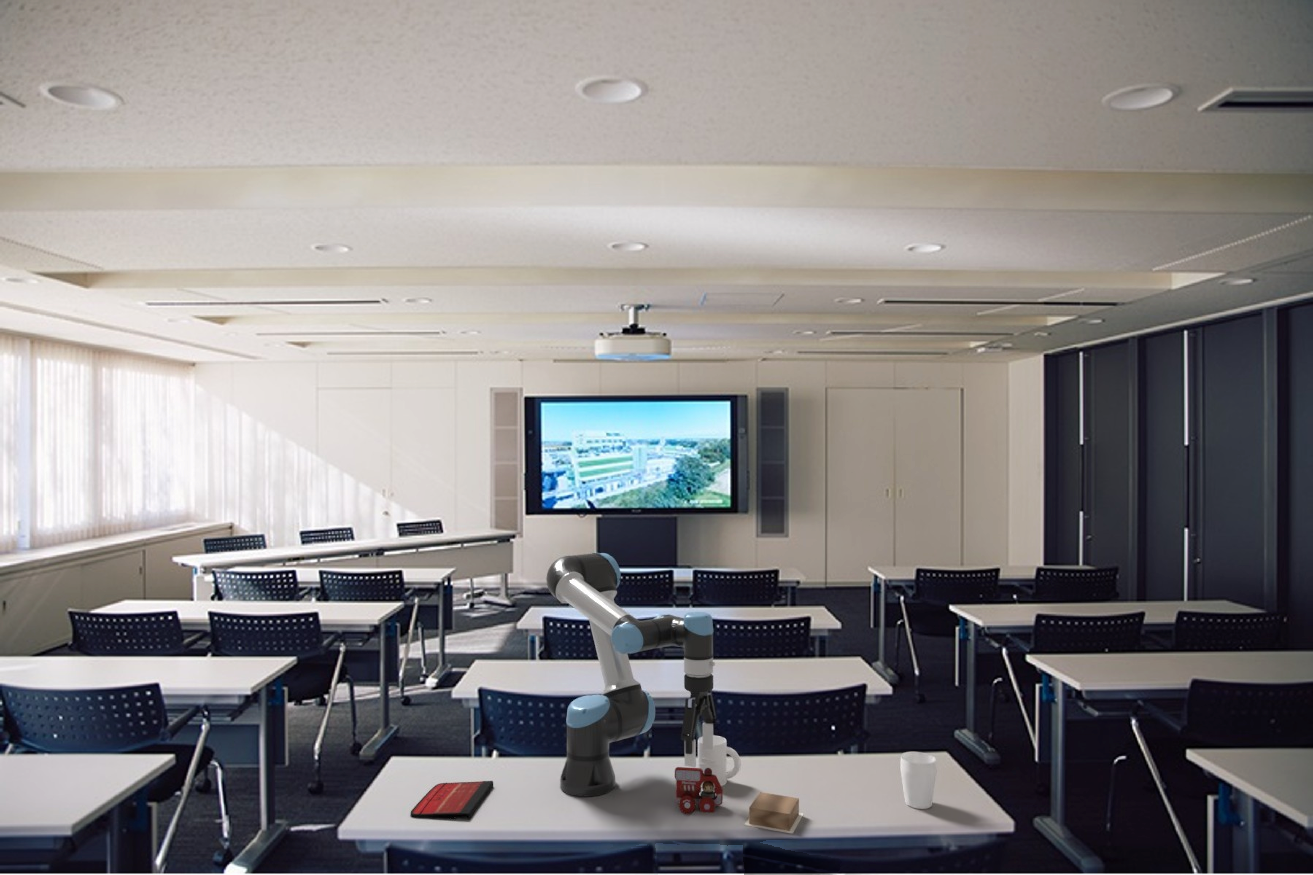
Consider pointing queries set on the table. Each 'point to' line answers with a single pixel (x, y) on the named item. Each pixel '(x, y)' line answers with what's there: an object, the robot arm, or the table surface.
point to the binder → (452, 800)
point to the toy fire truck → (697, 789)
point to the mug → (718, 759)
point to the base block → (774, 811)
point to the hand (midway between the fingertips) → (699, 756)
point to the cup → (918, 779)
